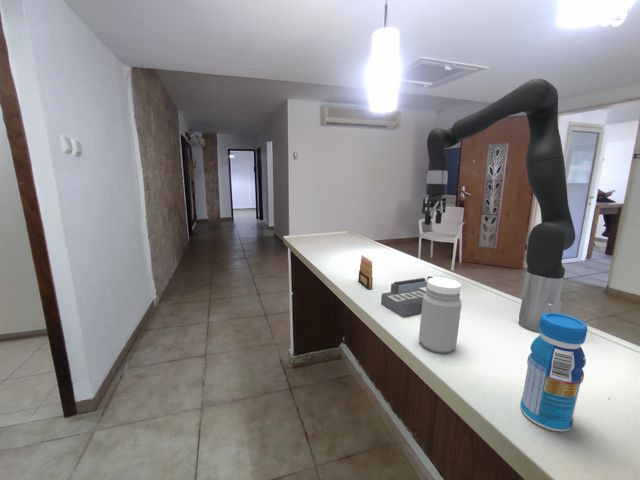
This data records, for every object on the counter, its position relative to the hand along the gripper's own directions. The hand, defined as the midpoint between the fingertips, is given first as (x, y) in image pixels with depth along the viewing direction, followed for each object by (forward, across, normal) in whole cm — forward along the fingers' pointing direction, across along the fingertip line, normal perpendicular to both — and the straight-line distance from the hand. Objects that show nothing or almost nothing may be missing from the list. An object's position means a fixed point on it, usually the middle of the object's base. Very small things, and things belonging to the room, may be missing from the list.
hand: (432, 224), depth 124 cm
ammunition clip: (+27, -17, +19) cm, 37 cm away
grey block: (+27, -22, -6) cm, 35 cm away
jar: (+28, -39, -25) cm, 54 cm away
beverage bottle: (+28, -48, -51) cm, 76 cm away
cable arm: (+21, -23, -6) cm, 31 cm away
